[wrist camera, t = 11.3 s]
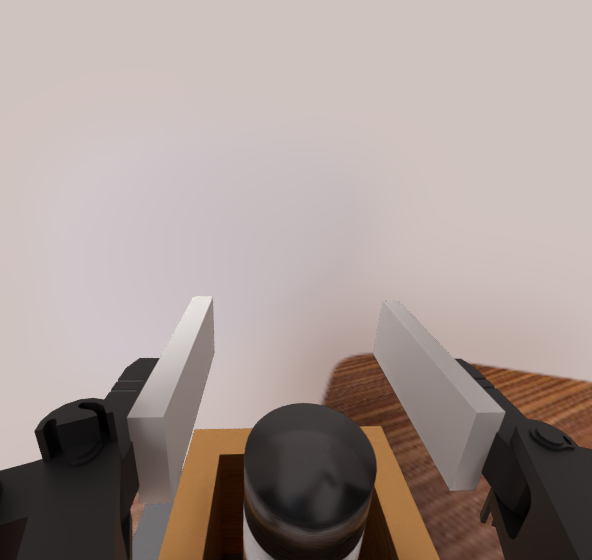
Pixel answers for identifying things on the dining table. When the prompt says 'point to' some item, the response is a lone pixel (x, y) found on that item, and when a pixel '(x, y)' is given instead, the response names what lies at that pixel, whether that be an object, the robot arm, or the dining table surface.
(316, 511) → the capped glass tube
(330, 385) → the dining table surface
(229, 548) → the yellow open box
